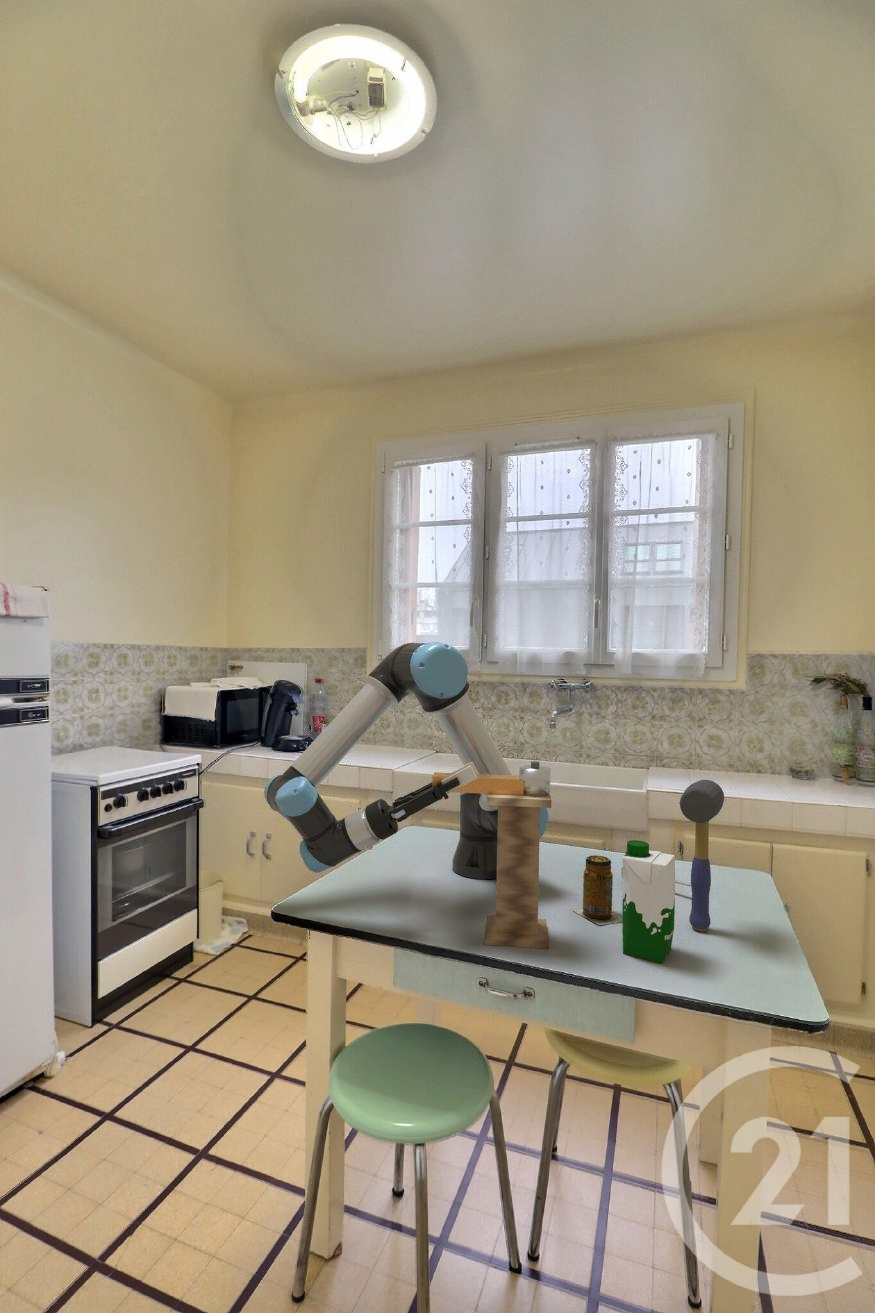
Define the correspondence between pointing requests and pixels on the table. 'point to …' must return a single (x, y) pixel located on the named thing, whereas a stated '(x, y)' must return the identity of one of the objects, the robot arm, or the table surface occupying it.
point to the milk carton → (648, 902)
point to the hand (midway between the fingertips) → (474, 769)
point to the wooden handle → (507, 782)
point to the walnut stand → (517, 873)
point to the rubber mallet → (701, 844)
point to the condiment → (598, 891)
